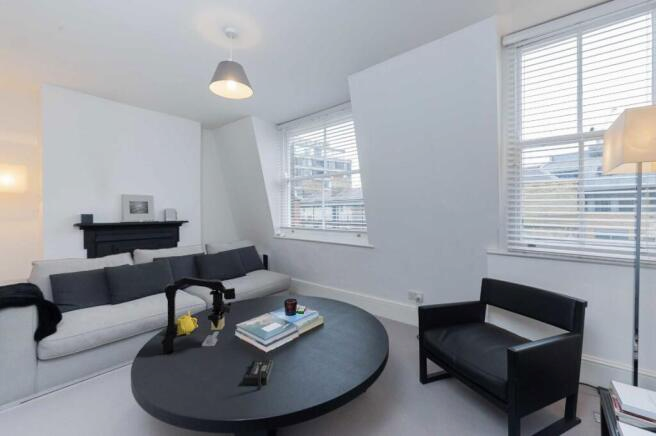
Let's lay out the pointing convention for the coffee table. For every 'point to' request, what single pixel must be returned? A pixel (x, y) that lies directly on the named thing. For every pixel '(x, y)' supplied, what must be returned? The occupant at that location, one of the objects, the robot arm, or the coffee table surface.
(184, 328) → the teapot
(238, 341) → the coffee table surface
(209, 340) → the hammer
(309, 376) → the coffee table surface
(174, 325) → the robot arm
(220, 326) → the brushed brass cube
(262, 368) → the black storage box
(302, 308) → the puzzle cube
